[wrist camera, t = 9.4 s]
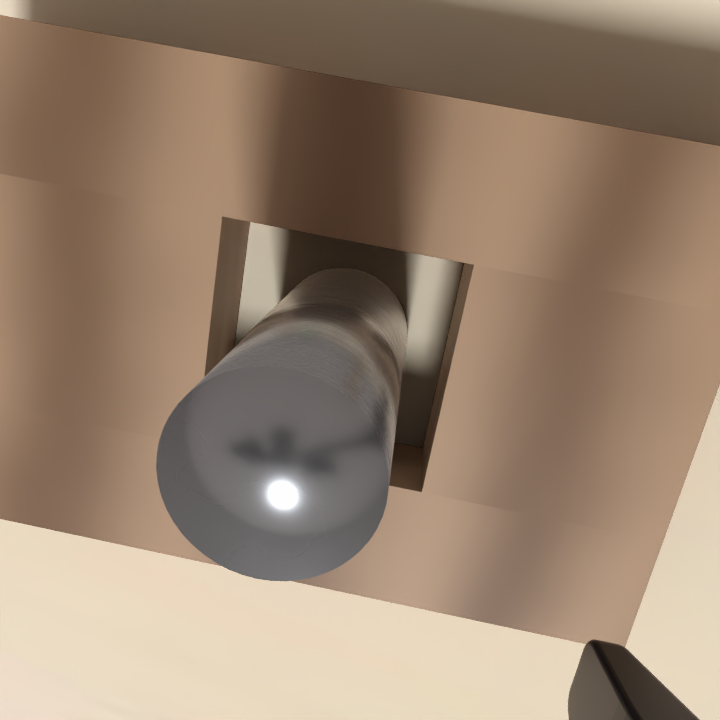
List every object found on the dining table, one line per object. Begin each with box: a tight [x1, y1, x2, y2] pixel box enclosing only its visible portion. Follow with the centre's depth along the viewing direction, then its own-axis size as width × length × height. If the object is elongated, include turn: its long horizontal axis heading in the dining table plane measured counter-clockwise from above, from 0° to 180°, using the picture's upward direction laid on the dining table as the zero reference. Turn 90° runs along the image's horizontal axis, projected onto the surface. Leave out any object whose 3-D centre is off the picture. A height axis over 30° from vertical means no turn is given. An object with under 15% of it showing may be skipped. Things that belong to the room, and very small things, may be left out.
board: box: [0, 15, 720, 647], centre depth 20 cm, size 20×14×3 cm
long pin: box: [156, 268, 407, 581], centre depth 16 cm, size 4×4×10 cm
